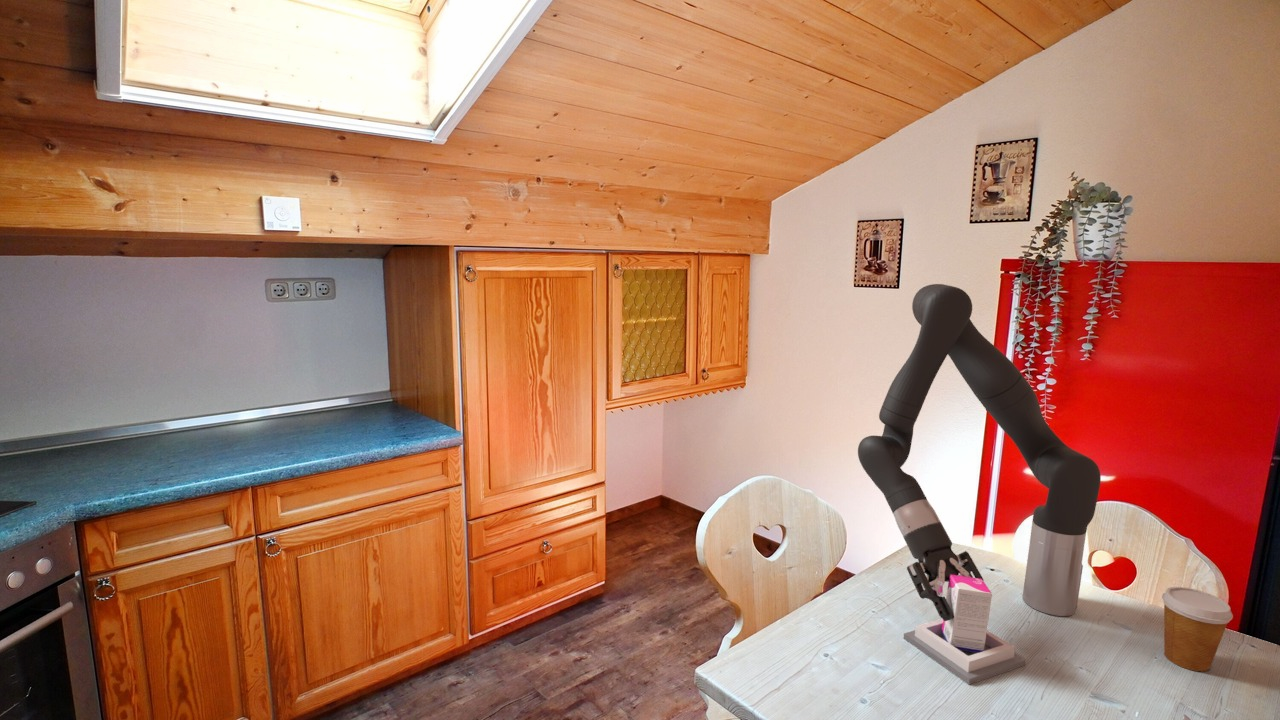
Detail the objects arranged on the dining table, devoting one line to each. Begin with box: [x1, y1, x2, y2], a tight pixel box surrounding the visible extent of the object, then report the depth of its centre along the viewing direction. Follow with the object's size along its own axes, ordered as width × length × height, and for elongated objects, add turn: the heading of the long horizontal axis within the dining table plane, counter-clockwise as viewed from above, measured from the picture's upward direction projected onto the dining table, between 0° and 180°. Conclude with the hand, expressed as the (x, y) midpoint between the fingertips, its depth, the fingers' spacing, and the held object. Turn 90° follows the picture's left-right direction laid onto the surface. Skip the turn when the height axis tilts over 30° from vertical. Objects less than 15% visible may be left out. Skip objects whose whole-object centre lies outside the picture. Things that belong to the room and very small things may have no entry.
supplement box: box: [942, 574, 993, 653], centre depth 114 cm, size 6×6×12 cm
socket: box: [903, 618, 1026, 685], centre depth 115 cm, size 14×14×3 cm
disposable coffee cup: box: [1161, 586, 1234, 673], centre depth 113 cm, size 10×10×12 cm
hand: (966, 615), depth 114 cm, fingers closed on supplement box, 7 cm apart
